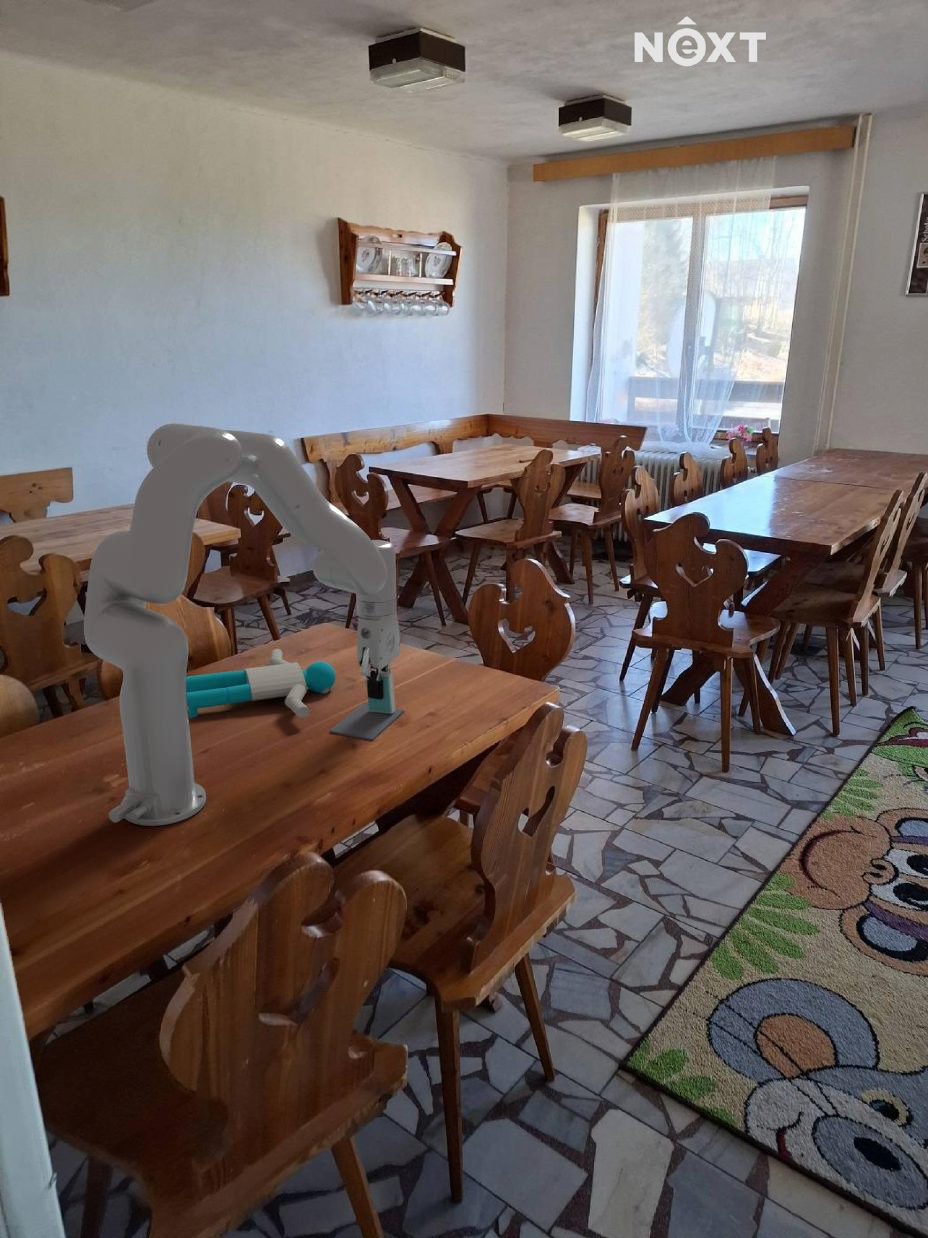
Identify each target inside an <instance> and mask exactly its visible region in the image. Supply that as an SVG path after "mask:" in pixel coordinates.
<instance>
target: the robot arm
mask: <svg viewBox="0 0 928 1238" xmlns="http://www.w3.org/2000/svg"><path fill="white" fill-rule="evenodd" d="M147 441H148V442H147V444H146V455H147V459H148V461H149V463H150V465H151V467H152V468H151V470H150V471H149V472H148V473H147V474H146V475H145V477H144V479H143V481H142V482H141V484H140V486H139V488H138V490H137V492H136V497H135V500H134V504H133V505H134V506H133V509H132V516H131V522H130V528H129V530H118V531H115V532H113V533H111V534H109V535H107V536H105V538H103V539H102V540H101V542H100V543H99V544H98V546H97V547H96V549H95V550H94V552H93V555H92V558H91V561H90V565H89V572H88V582H87V591H86V599H85V608H84V609H85V610H84V617H83V618H84V619H83V635H84V639H85V643H86V646H87V647H88V649H89V650H90V652H92V653H93V655H95V656H96V657H98V658H99V659H101V660H104V661H105V662H107V663H109V664H112V665H114V666H115V667H117V668H118V669H121V671H122V675H123V676H122V684H121V687H120V692H119V693H120V694H119V713H120V714H119V715H120V720H121V726H122V735H123V743H124V753H125V759H126V769H127V778H128V786H129V787H128V788H127V789H125V790H124V793H125V797H124V798H123V799H122V801H121V803H120V804H119V805H117V806H116V807H115V808H113V809H112V810H110V811H109V812H108V818H109V820H110V821H111V822H113V823H118V822H120V821H121V820H123V819H125V820H126V821H128V822H129V823H132V824H135V825H140V826H147V827H150V826H151V827H157V826H158V827H159V826H165V825H171V824H176V823H179V822H181V821H183V820H186V819H189V818H190V817H192V816H194V815H196V814H197V813H198V812H200V811H201V810H202V808H203V807H204V806H205V804H206V803H207V795H206V790H205V788H204V786H203V787H202V786H201V784H198V783H196V782H195V775H194V762H193V754H192V753H193V751H192V745H191V744H192V743H191V741H192V740H191V732H190V721H189V720H190V718H189V711H188V702H187V697H186V677H187V668H188V659H189V643H188V637H187V636H186V634H185V632H184V630H183V628H182V627H181V626H180V625H179V624H178V623H177V622H176V621H174V620H173V619H172V618H170V617H168V616H166V615H163V614H161V613H159V612H156V611H154V610H151V609H149V608H146V607H147V603H149V604H155V605H165V604H170V603H172V602H175V601H176V600H177V599H179V598H180V596H181V595H182V594H183V592H184V590H185V587H186V583H187V579H188V573H189V566H190V565H189V564H190V559H191V558H190V557H191V548H192V541H193V532H194V527H195V522H196V517H197V514H198V511H199V510H200V509H199V508H200V507H201V505H202V504H203V502H204V500H205V499H206V498H207V497H208V496H209V495H210V494H211V493H212V492H213V491H215V489H217V488H219V487H220V486H222V485H223V484H225V483H235V484H241V485H246V486H249V487H251V488H252V489H253V490H254V491H255V493H256V494H257V495H258V497H259V498H260V499H261V500H262V501H263V503H264V504H265V506H266V507H267V508H268V509H269V510H270V512H271V513H272V514H273V516H274V517H275V519H276V520H277V521H278V522H279V524H280V525H281V527H282V528H283V529H284V530H285V531H287V532H288V533H289V534H291V535H293V536H294V537H295V538H297V539H299V540H300V541H302V542H304V543H306V544H308V545H310V546H312V547H314V548H316V549H318V550H320V551H319V552H318V553H317V554H316V556H315V557H314V559H313V562H312V571H313V574H314V576H315V578H316V580H318V582H320V583H322V584H323V585H325V586H327V587H330V588H334V589H336V590H337V589H338V590H341V591H346V592H349V593H353V594H356V597H355V598H356V615H357V616H358V620H357V631H356V632H357V633H356V635H357V636H356V656H357V663H358V666H359V667H360V668H361V669H360V675H361V676H364V677H365V680H367V682H366V691H367V690H368V693H367V698H368V697H369V698H373V699H380V700H382V699H383V698H384V691H383V680H381V671H382V672H392V670H391V663H392V661H394V660H395V659H396V658H398V657H399V656H400V653H401V639H400V638H401V636H400V624H399V623H400V622H399V617H398V611H397V572H396V567H397V565H396V560H397V558H396V548H395V545H394V544H393V543H391V542H390V541H387V540H381V539H372V540H371V538H370V536H368V534H367V533H366V532H365V531H364V530H363V529H362V528H361V527H360V526H358V524H356V522H354V521H353V520H352V519H350V518H349V517H348V516H347V515H346V514H345V513H343V512H342V511H341V510H340V509H339V508H337V507H336V506H335V505H333V503H331V502H329V500H328V499H326V498H325V496H324V495H323V494H322V492H321V491H320V490H319V488H318V487H317V485H316V484H315V483H314V481H313V479H312V478H311V477H310V475H309V473H307V471H306V469H305V468H304V466H303V465H302V464H301V462H300V461H299V460H298V458H297V457H296V455H295V454H294V452H293V450H291V449H292V448H290V447H289V446H288V444H287V443H286V442H285V441H284V440H282V439H281V438H280V437H277V436H275V435H272V434H266V433H258V432H252V431H244V430H243V431H242V430H241V431H240V430H229V429H227V430H226V429H220V428H215V427H211V426H203V425H191V424H183V423H174V422H173V423H167V424H163V425H162V426H160V427H158V428H157V429H155V430H154V431H153V433H151V435H150V436H149V439H148V440H147ZM375 671H376V672H375Z"/></svg>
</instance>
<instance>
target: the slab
mask: <svg viewBox="0 0 928 1238" xmlns="http://www.w3.org/2000/svg"><path fill="white" fill-rule="evenodd" d="M374 671H375V672H376V670H374ZM393 673H394V672H393V671H390V672H382V671H381V680H383V691H384V698H383V699H382V700H380V699H373V698H369V697H368V696H367V703H368V705H369V711H370V712H380V713H391V714H392V713H393V712H395V711H396V710H395V708H396V699H395V689H394V688H395V686H394V674H393ZM365 680H366V679H365ZM366 683H367V680H366ZM366 692H367V694H368V690H367V689H366Z"/></svg>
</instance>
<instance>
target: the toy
mask: <svg viewBox="0 0 928 1238" xmlns="http://www.w3.org/2000/svg"><path fill="white" fill-rule="evenodd" d="M336 677H337V676H336V672H335V669H334V667H333V666H332V665H331V664H329V663H327V662H325V661H315V662H312V663H311V664H310V665H308V666H307V668H306V669H302V668H301V666H300V664H299V663H298V662H288V661H287V660H285V659H283V650H281V649H279V648H275V649H274V648H273V650H271V652H270V658H269V661H268V665H265V666H258V667H249V668H244V670H232V671H223V672H213V673H207V674H197V675H189V676H186V697H187V709H188V718H189V719H192V717H193V718H195V717H197V716H198V714H199V712H198V709H205V708H212V707H217V706H218V707H219V706H226V705H231V704H237V703H242V702H243V703H244V702H249V701H252V702H253V701H259V700H260V701H261V700H262V701H263V700H269V699H275V698H282V697H285V700H284V704H285V706H287V708H289V709H290V710H291V711H292V712H293V713H294V714H295V715H296V716H297V717H298V718H300V719H301V718H306V717H308V715H309V714H310V708H308V707H307V705H305V704H304V703H303V702H302V701H303V698H304V697H305V694H307V692H308V689H309V690H310V691H312V692H314V693H321V694H327V693H329V691H330V690H331V688H333V686H334V685H335V683H336Z"/></svg>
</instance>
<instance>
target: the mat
mask: <svg viewBox="0 0 928 1238" xmlns="http://www.w3.org/2000/svg"><path fill="white" fill-rule="evenodd" d="M395 710H396V711H395V712H393V713H392V714H391V713H380V712H370V711H369V705H368V702H367V703H366V702H363V703H361V704H360V705H359V706H358V707H356V708H355V709H354V710H352V712H350V713H349V714H347V716H346V717H344V718H343V719H342V720H340V722H338V723H336V725H334V726H333V727H331V728H330V730H329V733H330V734H336V735H341V736H347V737H352V738H356V739H357V738H358V739H363V740H368V741H374V740H375V739H376V738H377V737H378V736H380V735H381V734H382V732H384V731H385V730H387V728H388V727H390V726H391V724H393V723H394V722H395V721H396V720H397V719H398V718H399V717H400V716H401V715H402V714H403V713H405V709H402V708H396V707H395Z"/></svg>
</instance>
